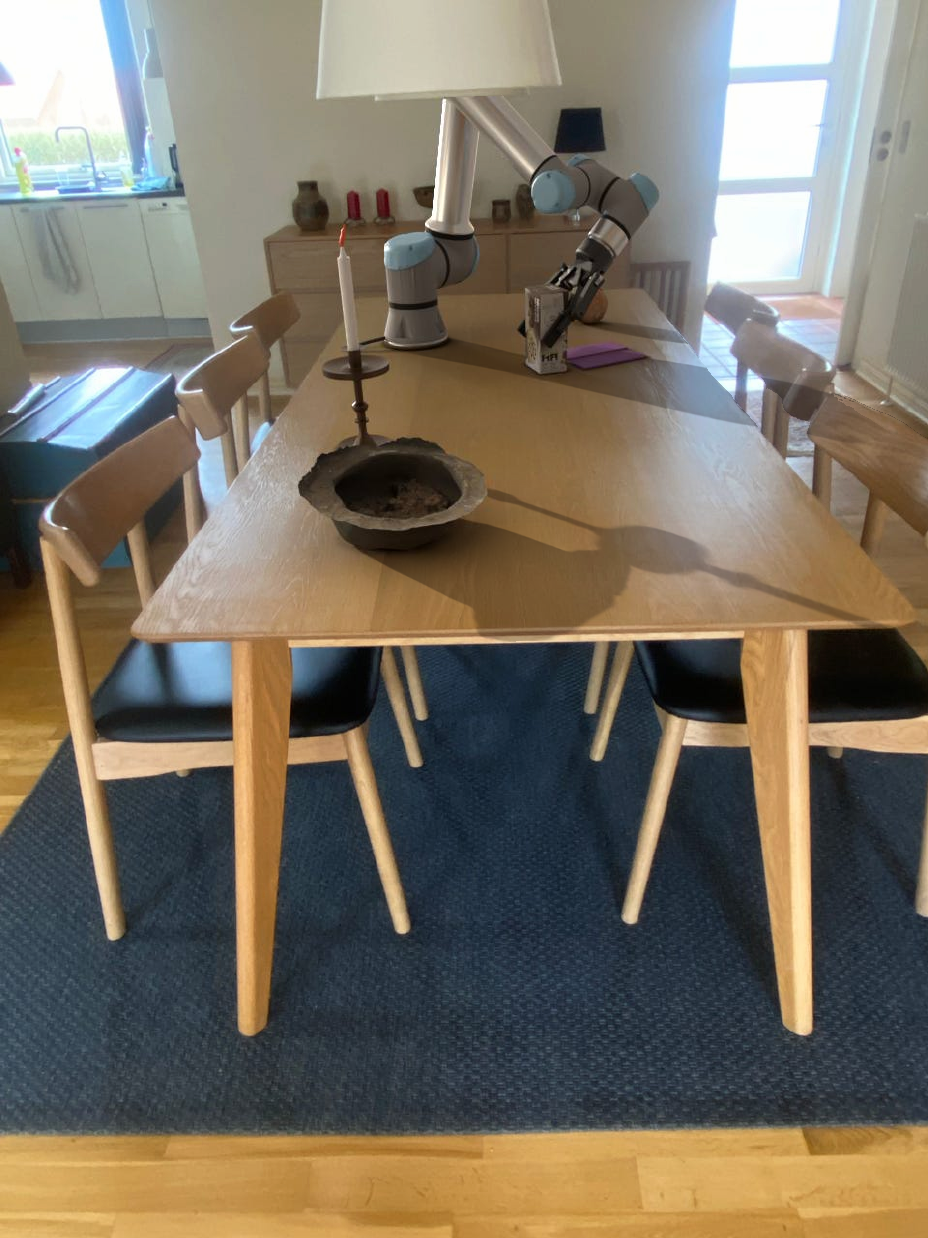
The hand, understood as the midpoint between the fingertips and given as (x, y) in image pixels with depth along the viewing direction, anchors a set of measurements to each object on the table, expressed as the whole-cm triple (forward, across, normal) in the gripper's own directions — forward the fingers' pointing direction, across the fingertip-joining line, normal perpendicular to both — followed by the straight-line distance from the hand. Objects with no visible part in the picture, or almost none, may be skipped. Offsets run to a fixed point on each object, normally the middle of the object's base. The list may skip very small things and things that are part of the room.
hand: (533, 338), depth 172 cm
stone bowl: (+42, -55, +33) cm, 77 cm away
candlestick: (+38, -24, +28) cm, 53 cm away
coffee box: (+2, 0, -7) cm, 7 cm away
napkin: (-8, +1, -17) cm, 18 cm away
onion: (-18, +28, -27) cm, 43 cm away
